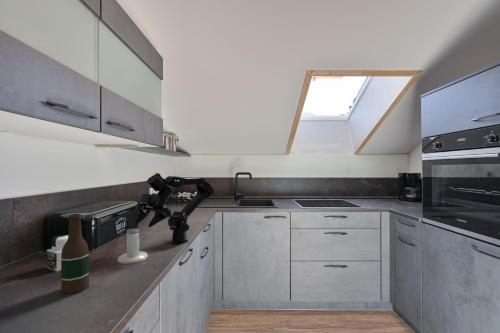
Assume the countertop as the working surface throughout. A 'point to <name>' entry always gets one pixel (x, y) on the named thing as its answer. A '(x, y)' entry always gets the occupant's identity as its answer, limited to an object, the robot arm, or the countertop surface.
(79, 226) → the beer bottle
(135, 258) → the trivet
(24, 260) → the countertop surface
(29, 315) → the countertop surface
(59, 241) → the medicine bottle
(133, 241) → the grey-topped white cylinder
